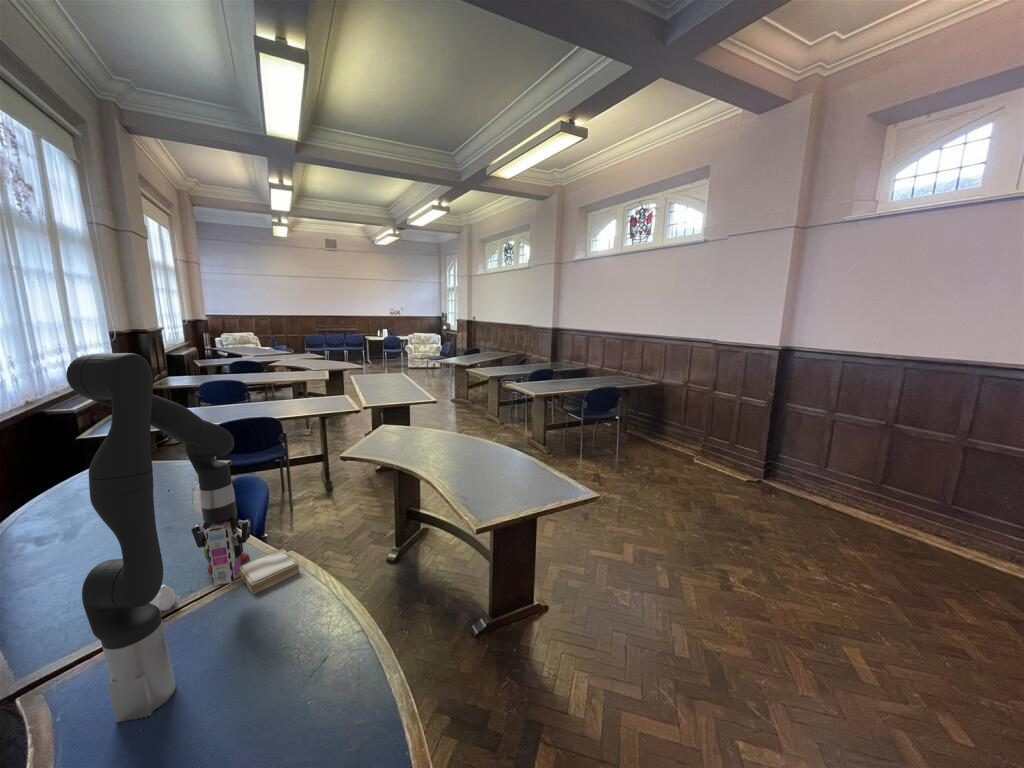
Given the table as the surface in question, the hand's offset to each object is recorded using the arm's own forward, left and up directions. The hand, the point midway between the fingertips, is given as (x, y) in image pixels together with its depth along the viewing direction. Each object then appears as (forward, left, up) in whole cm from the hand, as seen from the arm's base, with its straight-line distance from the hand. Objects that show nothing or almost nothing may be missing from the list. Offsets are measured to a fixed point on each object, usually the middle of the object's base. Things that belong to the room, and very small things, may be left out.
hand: (226, 557), depth 112 cm
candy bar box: (0, 0, -5) cm, 5 cm away
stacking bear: (+20, +11, -15) cm, 28 cm away
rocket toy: (+2, +18, -15) cm, 24 cm away
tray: (+12, -5, -15) cm, 20 cm away
